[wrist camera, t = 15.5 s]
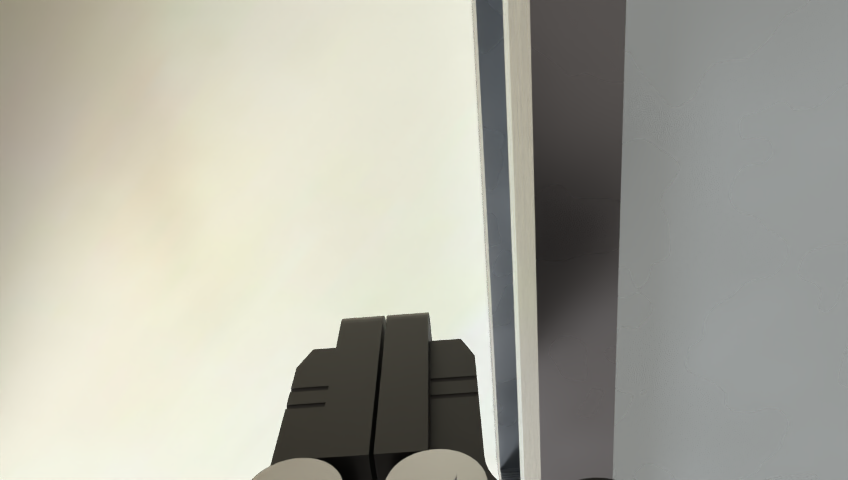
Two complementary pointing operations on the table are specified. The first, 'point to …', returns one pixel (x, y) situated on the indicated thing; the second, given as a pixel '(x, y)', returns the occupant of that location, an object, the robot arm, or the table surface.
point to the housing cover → (679, 237)
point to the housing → (497, 227)
